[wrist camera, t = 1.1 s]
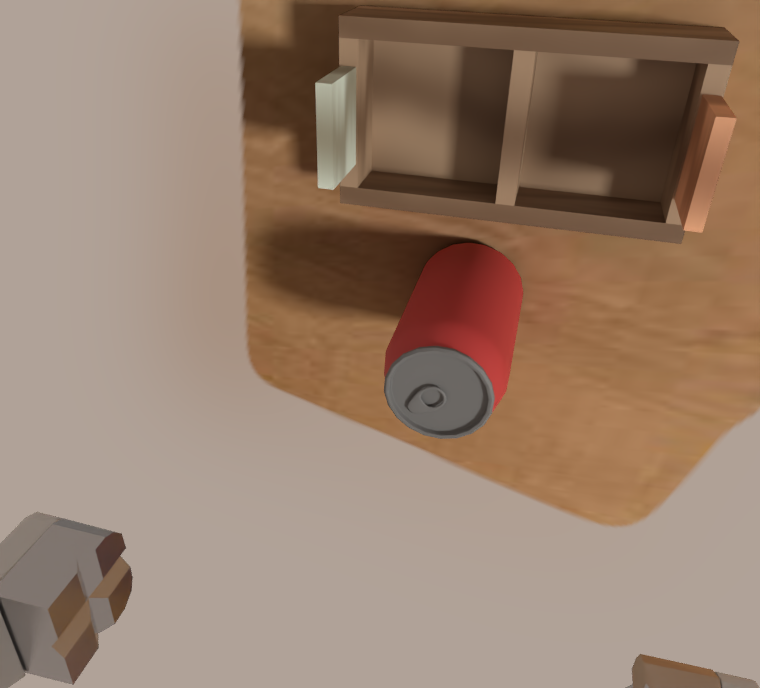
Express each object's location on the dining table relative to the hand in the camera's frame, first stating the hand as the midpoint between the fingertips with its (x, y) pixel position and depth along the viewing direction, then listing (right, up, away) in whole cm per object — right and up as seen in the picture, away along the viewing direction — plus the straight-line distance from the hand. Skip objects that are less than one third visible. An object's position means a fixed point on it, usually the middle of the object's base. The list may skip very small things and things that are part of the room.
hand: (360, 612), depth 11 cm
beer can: (+6, +8, +33) cm, 35 cm away
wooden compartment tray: (+8, +17, +27) cm, 33 cm away
